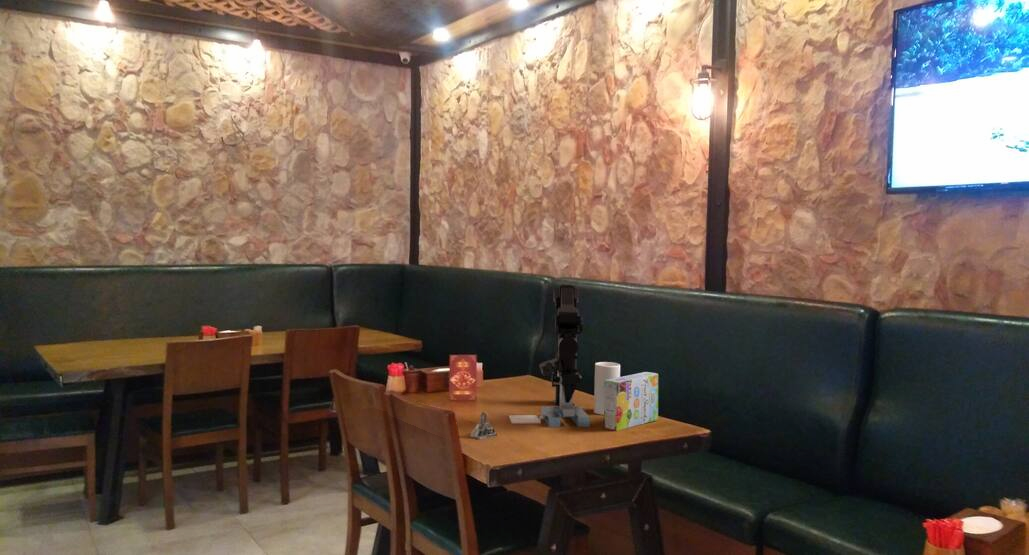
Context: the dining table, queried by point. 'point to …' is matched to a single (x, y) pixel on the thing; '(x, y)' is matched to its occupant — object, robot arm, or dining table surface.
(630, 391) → the snack box
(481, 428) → the house of cards
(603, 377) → the cup
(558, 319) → the robot arm
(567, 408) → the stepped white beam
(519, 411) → the dining table surface
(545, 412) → the frame
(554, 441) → the dining table surface
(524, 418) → the tile
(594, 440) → the dining table surface
